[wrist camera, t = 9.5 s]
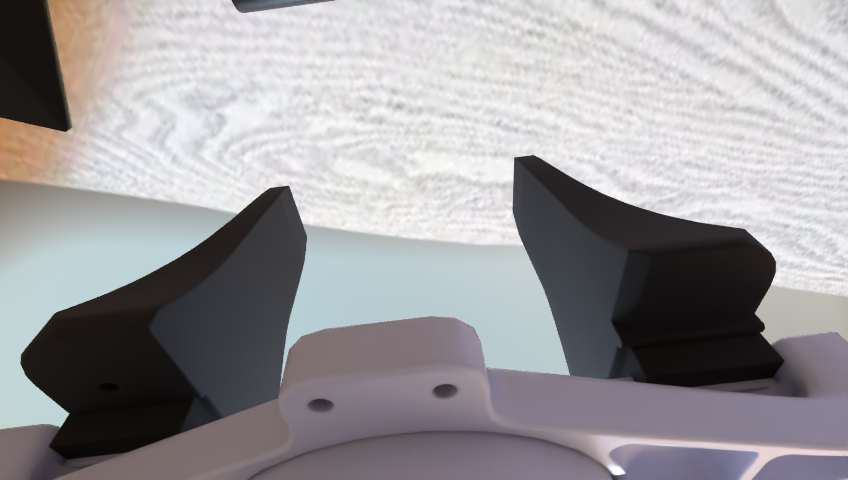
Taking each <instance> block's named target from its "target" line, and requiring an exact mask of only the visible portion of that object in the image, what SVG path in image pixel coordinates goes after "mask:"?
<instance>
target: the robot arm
mask: <svg viewBox="0 0 848 480" xmlns="http://www.w3.org/2000/svg"><path fill="white" fill-rule="evenodd" d="M513 214H514V218H515V222H516V225H517V229H518V232H519V235H520V238H521V240H522V242H523V245H524V247H525V249H526V251H527V253H528V255H529V258H530V260H531V262H532V264H533V266H534V269H535V271H536V273H537V275H538V277H539V279H540V281H541V284H542V286H543V288H544V291H545V294H546V296H547V299H548V302H549V305H550V308H551V311H552V314H553V317H554V320H555V324H556V327H557V331H558V334H559V337H560V341H561V344H562V347H563V351H564V354H565V358H566V362H567V365H568V369H569V373H570V376H569V375H558V374H548V373H537V372H528V371H518V370H508V369H507V370H506V369H497V368H487V367H486V365H485V360H484V355H483V351H482V346H481V342H480V339H479V337H478V335H477V334H476V331H475V329H474V328H473V327H471V326H470V325H468V324H466V323H464V322H462V321H460V320H458V319H456V318H450V317H434V316H429V317H420V318H413V319H404V320H395V321H387V322H378V323H370V324H362V325H354V326H346V327H337V328H329V329H323V330H320V331H317V332H314V333H311V334H308V335H305V336H302V337H301V338H300V339H299V340H298V341H297V342H296V343H295V344H294V345H293V346H292V347H291V348H290V349H289V353H288V357H287V361H286V366H285V370H284V374H283V379H282V383H281V387H280V382H281V373H282V364H283V355H284V348H285V341H286V334H287V328H288V323H289V318H290V314H291V311H292V307H293V303H294V300H295V296H296V292H297V288H298V285H299V281H300V277H301V273H302V270H303V265H304V260H305V252H306V241H307V235H306V233H305V230H304V227H303V224H302V221H301V218H300V216H299V213H298V210H297V207H296V204H295V201H294V199H293V196H292V193H291V190H290V187H289V186H283V187H275V188H270V189H268V190H266V191H265V192H264V193H262V194H261V195H260V196H259V197H258V198H256V199H255V200H254V201H253V202H252V203H250V204H249V205H248V206H247V207H246V208H245V209H243V210H242V211H241V212H240V213H239V214H238V215H236V216H235V217H234V218H233V219H232V220H231V221H229V222H228V223H227V224H225V225H224V226H223V227H222V228H220V229H219V230H218V231H216V232H215V233H214V234H213V235H211V236H210V237H209V238H207V239H206V240H205V241H203V242H202V243H200V244H199V245H198V246H196V247H195V248H193V249H192V250H190V251H188V252H187V253H185V254H184V255H182V256H181V257H179V258H178V259H176V260H174V261H172V262H170V263H169V264H167V265H165V266H163V267H161V268H159V269H158V270H156V271H154V272H152V273H150V274H148V275H146V276H145V277H143V278H140V279H138V280H136V281H134V282H132V283H130V284H128V285H126V286H123V287H121V288H118V289H116V290H114V291H112V292H110V293H107V294H104V295H102V296H100V297H97V298H94V299H92V300H89V301H86V302H84V303H81V304H78V305H76V306H73V307H70V308H68V309H65V310H62V311H59V312H56V313H55V314H54V315H53V316H52V317H51V319H50V320H49V321H48V322H47V324H46V325H45V326H44V327H43V328H42V330H41V331H40V332H39V333H38V335H37V336H36V337H35V338H34V339H33V341H32V342H31V343H30V344H29V345H28V347H27V348H26V349H25V350H24V352H23V353H22V354H21V366H22V368H23V370H24V372H25V374H26V376H27V377H28V379H30V381H32V383H33V384H34V385H35V386H36V387H38V388H39V389H40V390H41V391H43V392H44V393H45V394H46V395H47V396H49V397H50V398H51V399H52V400H53V401H55V402H56V403H57V404H58V405H60V406H61V407H62V408H63V409H64V410H66V411H67V412H68V413H70V414H69V416H68V417H67V419H66V420H65V422H64V423H63V425H62V426H61V427H59V426H54V425H50V424H41V425H32V426H23V427H14V428H6V429H1V430H0V480H848V342H847V341H846V340H845V339H844V338H842V337H841V336H840V335H839V334H838V333H836V332H827V333H818V334H809V335H801V336H792V337H787V338H783V339H780V340H778V341H776V342H774V343H772V344H771V345H770V344H769V343H768V341H767V340H766V339H765V338H764V337H763V336H762V335H761V333H760V332H763V331H764V329H765V326H764V323H763V322H762V321H761V320H760V319H759V318H758V317H757V316H756V314H755V312H756V310H757V308H758V306H759V305H760V303H761V301H762V299H763V298H764V296H765V294H766V293H767V291H768V289H769V287H770V286H771V283H772V281H773V278H774V276H775V273H776V261H775V259H774V257H773V256H772V254H771V252H769V251H768V250H767V249H766V248H765V247H764V246H763V245H762V244H761V243H759V242H758V241H757V240H756V239H755V238H754V237H753V236H752V235H751V234H749V233H748V232H747V231H746V230H745V229H741V228H734V227H727V226H719V225H712V224H705V223H699V222H694V221H689V220H684V219H680V218H675V217H671V216H667V215H663V214H659V213H655V212H652V211H649V210H645V209H642V208H639V207H636V206H633V205H630V204H627V203H624V202H622V201H619V200H617V199H614V198H612V197H609V196H607V195H605V194H602V193H600V192H598V191H596V190H594V189H592V188H590V187H588V186H586V185H584V184H582V183H580V182H579V181H577V180H575V179H573V178H572V177H570V176H568V175H566V174H565V173H563V172H561V171H560V170H558V169H557V168H555V167H553V166H552V165H550V164H548V163H547V162H545V161H543V160H542V159H540V158H538V157H536V156H534V155H531V156H523V157H515V158H514V185H513Z"/></svg>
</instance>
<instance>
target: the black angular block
mask: <svg viewBox="0 0 848 480" xmlns="http://www.w3.org/2000/svg"><path fill="white" fill-rule="evenodd" d="M0 117H1V118H6V119H10V120H15V121H19V122H24V123H28V124H32V125H37V126H41V127H46V128H50V129H55V130H59V131H64V132H66V131H68V130H70V129H71V128H72V123H71V118H70V113H69V108H68V103H67V98H66V93H65V88H64V83H63V78H62V73H61V68H60V63H59V58H58V53H57V48H56V43H55V38H54V32H53V27H52V22H51V17H50V12H49V7H48V2H47V0H0Z"/></svg>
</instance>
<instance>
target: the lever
mask: <svg viewBox="0 0 848 480" xmlns="http://www.w3.org/2000/svg"><path fill="white" fill-rule="evenodd" d="M327 1H334V0H232V2H233V4H234V6H235V7H236V9H237V10H238V11H239V12H241V13H248V12H255V11H262V10H269V9H276V8H284V7H291V6H298V5H305V4H312V3H320V2H327Z"/></svg>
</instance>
